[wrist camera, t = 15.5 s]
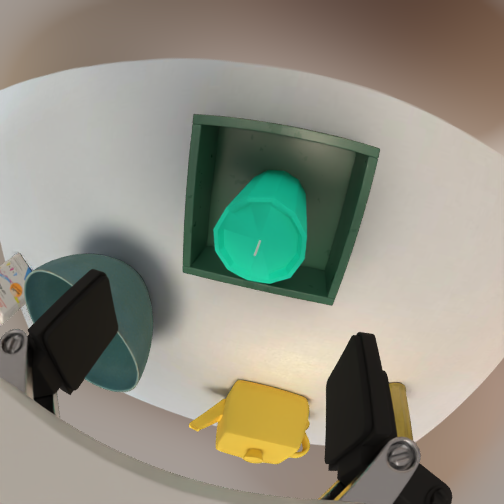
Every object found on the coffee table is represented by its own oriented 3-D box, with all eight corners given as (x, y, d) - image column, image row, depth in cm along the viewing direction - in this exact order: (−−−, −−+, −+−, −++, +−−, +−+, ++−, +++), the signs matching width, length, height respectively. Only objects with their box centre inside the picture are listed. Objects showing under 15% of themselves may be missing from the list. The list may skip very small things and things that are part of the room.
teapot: (199, 400, 46) (180, 450, 35) (210, 365, 40) (186, 427, 30) (297, 427, 45) (291, 478, 35) (326, 398, 40) (325, 459, 29)
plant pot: (62, 239, 35) (7, 278, 24) (147, 210, 30) (78, 259, 19) (111, 332, 42) (74, 381, 31) (199, 332, 37) (166, 401, 26)
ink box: (41, 283, 41) (-7, 326, 28) (37, 293, 43) (-7, 334, 30) (18, 251, 39) (-31, 288, 26) (15, 263, 41) (-30, 299, 28)
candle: (319, 203, 26) (329, 261, 15) (273, 239, 28) (253, 313, 18) (276, 156, 24) (255, 181, 14) (232, 197, 27) (185, 248, 16)
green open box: (214, 115, 24) (193, 114, 19) (364, 143, 23) (380, 148, 18) (201, 247, 31) (182, 272, 26) (328, 275, 30) (332, 306, 25)
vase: (371, 386, 37) (378, 464, 24) (406, 378, 35) (421, 454, 22) (371, 404, 39) (376, 475, 27) (404, 397, 37) (415, 466, 25)
